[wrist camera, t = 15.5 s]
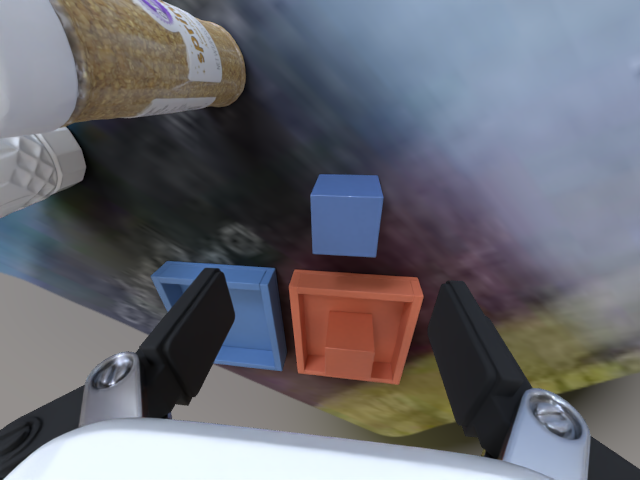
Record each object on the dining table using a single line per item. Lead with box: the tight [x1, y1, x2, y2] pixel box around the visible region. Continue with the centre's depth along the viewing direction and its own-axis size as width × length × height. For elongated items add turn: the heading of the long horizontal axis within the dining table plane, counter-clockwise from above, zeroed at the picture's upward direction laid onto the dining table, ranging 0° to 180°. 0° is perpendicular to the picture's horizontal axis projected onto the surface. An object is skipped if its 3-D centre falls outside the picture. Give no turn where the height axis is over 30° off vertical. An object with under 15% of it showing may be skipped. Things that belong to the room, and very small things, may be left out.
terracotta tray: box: [289, 269, 424, 385], centre depth 26 cm, size 12×14×2 cm
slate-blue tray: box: [150, 261, 287, 371], centre depth 27 cm, size 12×14×2 cm
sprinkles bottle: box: [0, 0, 246, 138], centre depth 10 cm, size 5×5×13 cm
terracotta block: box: [325, 310, 375, 380], centre depth 25 cm, size 4×4×4 cm
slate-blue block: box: [310, 174, 383, 257], centre depth 18 cm, size 4×4×4 cm
